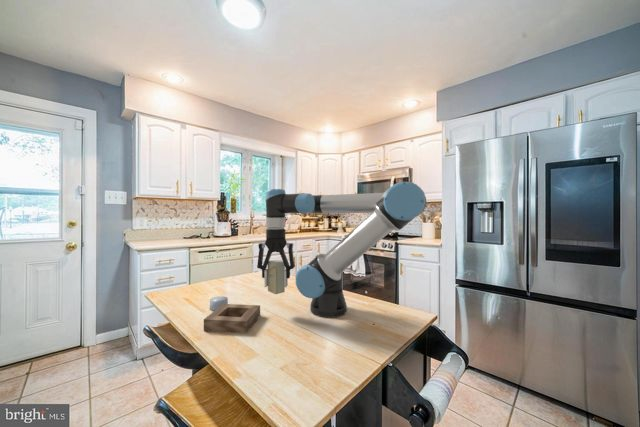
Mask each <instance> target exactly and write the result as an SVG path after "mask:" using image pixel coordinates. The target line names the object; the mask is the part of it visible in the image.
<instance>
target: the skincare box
mask: <svg viewBox="0 0 640 427" xmlns="http://www.w3.org/2000/svg"><path fill="white" fill-rule="evenodd" d="M267 269H268V286H267V291H268V293H269V292H270V293H272V294H274V295H278V294H282V293H283V294H284V293H285V291H286V290H285V288H286V287H284V270H285V269H286V268H285V265H284V263H283V260H279V259H274V260H269V261H268V265H267Z"/></svg>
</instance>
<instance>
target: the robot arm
mask: <svg viewBox="0 0 640 427" xmlns="http://www.w3.org/2000/svg"><path fill="white" fill-rule="evenodd" d="M265 194H266V195H265V210H266V212H265V214H266V215H265V228H267V229H266V231H265V242H260V243H258V245H257V246H258V250H259V251H258V258H257V265H256V267H257V268H256V269H260V270H261V277H262V279H264V288H268V261H270V259H271V256H272V254H273V253H275V252H276V253H279V255H280V257H281V261H283V263H284V265H285V270H284V287H285V288H287V287H288V284H289V282H288V280H289V279H290V278H291V270H293V269H294V268H295V266H296V265H295V258H294V249H293V248H294V243H293V242H291V243H290V242H287V239H286V229H285V228H286V214H302V215H303V214H305V215H306V214H344V213H345V214H351V213H352V214H355V213H356V214H363V213H365V214H369V215H368V216H367V217H366V218H364V220H363V221H361V222H360V223H359V224H358V225H357V226H355V227H354V228H353V229H352V230H351V231H350V232H349V233H348V234H347V235H345V236H344V237H343V238H341V240H340V241H338V242H337V243H336V244H335V245H334V246H333V247H332V248H331V249H330V250H329V251H328V252H326V253H319V254H316V255H315V257H314V258H313V259H312V260H311V261H310V262H308V264H306V265H303V266H301V267H300V268H299V269H298V270H297V271H296V274H295V286H296V289H297V290H298V292H299V293H300V294H301V295H302V296H303V297H305V298H308V299H312V300H311V303H310V312H311V313H312V314H313V315H315V316H318V317H321V318H322V317H323V318H337V317H341V316H345V314H346V313H347V311H348V310H347V309H348V308H347V307H348V306H347V302H346V298H345V297H344V291H343V290H344V288H343V285H344V271H345V270H347V269H348V268H349V267H350V266H351V265H352V264H354V263H355V262H356V261H357V260H359V259H360V258H361V257H362V256H363V255H364V254H366V253H367V252H368V251H369V250H370V249H372V248H373V247H374V246H375V245H377V243H379V242H380V241H381V240H382V239H383V238H385V237H386V236H387V235H389V234H390V233H391V232H392V231H401V230H402V229H403V228H404V227H405V226H407V225H408V224H409V223H410V222H412V221H413V220H414V219H415V218H417V217H419V216H420V215H422V214H423V212H424V210H425V209H426V206H427V198H426V193H425V192H424V190H423V189H422V187H420V186H419V185H418V184H416V183H414V182H411V181H400V182H397V183H394V184H393V185H392V186H391V185H390V187H389V188H388V189H386V190H385V192H372V193H370V192H369V193H368V192H367V193H346V194H342V193H341V194H340V193H339V194H317V195H313V194H311V193H305V192H302V193H287V194H286V191H285V189H283V188H269V189H268V190H266V193H265ZM265 247H266V248H267V252H266V256H265V257H264V253H265ZM285 247H286V248H287V249H288V258H287V255H286V253H285ZM288 259H289V260H288ZM263 260H264V261H263Z"/></svg>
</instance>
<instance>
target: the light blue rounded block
mask: <svg viewBox="0 0 640 427" xmlns="http://www.w3.org/2000/svg"><path fill="white" fill-rule="evenodd" d="M228 300H229V298H228V297H227V296H222V295H220V296H215V297H212V298H210V299H209V311H211V312H214V311H215V310H216V309H218V308H219V307H220V306H221V305H223V304H229V303H228V302H229V301H228Z"/></svg>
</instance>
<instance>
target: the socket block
mask: <svg viewBox="0 0 640 427" xmlns="http://www.w3.org/2000/svg"><path fill="white" fill-rule="evenodd" d="M260 316H261V305H255V304H234V303H228V304H223V305H221V306H220V307H219V308H218V309H216V310H215V311H211V313H209V315H208V316H206V317H205V318H204V319H203V331H204V332H215V333H216V332H219V333H236V334H247V333H248V332H249V331H250V329H251V328H252V326H254V324H256V323H255V322H257V320H258V319H260Z"/></svg>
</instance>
